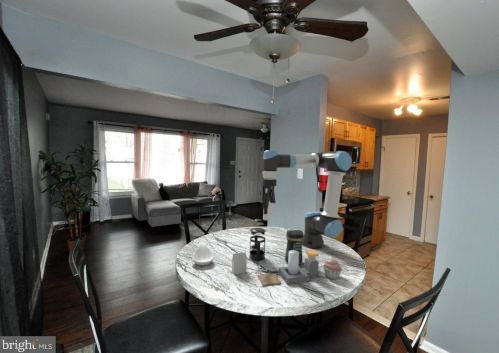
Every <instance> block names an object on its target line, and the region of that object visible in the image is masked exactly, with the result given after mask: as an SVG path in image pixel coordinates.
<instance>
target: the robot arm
mask: <svg viewBox="0 0 499 353" xmlns="http://www.w3.org/2000/svg"><path fill="white" fill-rule="evenodd" d="M262 156H263V158H262V162H263V163H262V172H261V173H262V178H263V179H262V185H263V186H264V187H265V188H264V189H263V199H262V205H261V208H263V209H262V210H263V211H262V220H263V221H269V216H270V215H272V216H273V215H275V204H276V202H277V201H276V194H275V187H277V183H278V182H277V178H278V169H279V168H281V169H283V168H284V169H286V168H288V169H293V168H295V167H311V168H319V169H326V173H327V174H328V176H327V183H326V191H325V197H324V204H323V211H314V210H313V211H306V212H305V215H304V231H303V236H304V239H303V241H302V247H303V246H304V247H306V248H310V249H322V248H324V247H325V241H324V237H323V236H325V237H327V238H332V239H334V238H337V237H338V236H339V235H340V234H341V232H342V230H343V223H342V222H341V221H340V215H339V213H338V212H339V207H340V206H339V205H340V199H341V198H340V197H341V192H342V184H343V177H344V176H345V175H347V171H348V170H350V168H351V167H352V162H353V161H352V160H353V159H352V157H351V155H350V154H349V153H348V152H347V151H343V150H338V151H337V150H335V151H322V152H313V153H311V154H290V153H289V154H285V153H283V154H278V150H275V149H274V150H273V149H272V150H271V149H269V150H264V151H263V155H262Z"/></svg>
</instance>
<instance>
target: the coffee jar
mask: <svg viewBox="0 0 499 353" xmlns="http://www.w3.org/2000/svg"><path fill="white" fill-rule="evenodd" d="M303 235H304V231H302V230H301V229H287V231H286V235H285V237H286V249H285V256H284V260H285V262H286V263H287V264H288V258H289V251H290V250H296V251H298V252H299V265H301V264H302V263H303V245H302V241H303V239H304V236H303Z"/></svg>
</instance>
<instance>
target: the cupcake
mask: <svg viewBox="0 0 499 353" xmlns="http://www.w3.org/2000/svg"><path fill="white" fill-rule="evenodd" d="M322 266H323V267H322V268H323V269H324V275H325V277H326V278H328V279H331V280H338V279H339V277H340V275H341V272H342V271H343V269H342V267H341V263H340V262H339V261H338V260H337V259H336V258H335V257H332V256H331V258H329V259H327V260H326V261H324V263H323V264H322Z"/></svg>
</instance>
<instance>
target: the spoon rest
mask: <svg viewBox="0 0 499 353" xmlns="http://www.w3.org/2000/svg"><path fill="white" fill-rule="evenodd" d="M214 258H215V255H214V254H213V252H212V250H211V249H210V248H209V247H208V245H207V243H206V242H203V243H202V242H199V245H198V247H197V248H196V249H195V251H194V253H193V255H192V257H191V259H192V261H193V262H194V264H196V265H198V266H207V265H210V264H211V263H212V262H213V260H214Z"/></svg>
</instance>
